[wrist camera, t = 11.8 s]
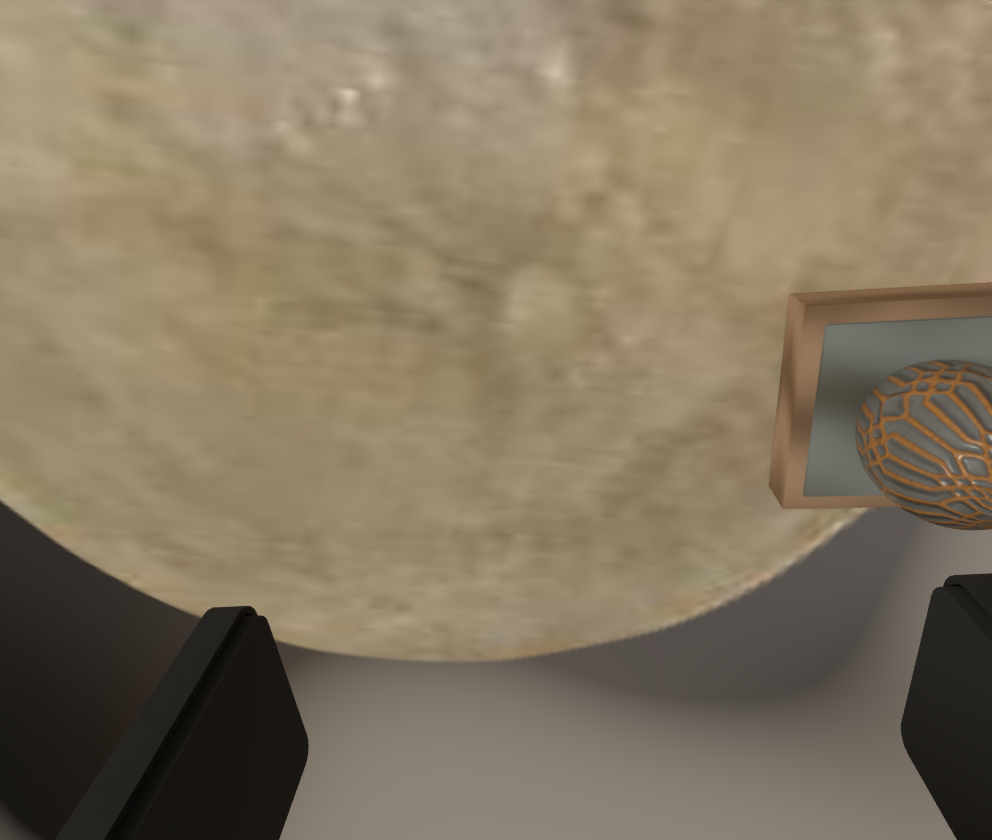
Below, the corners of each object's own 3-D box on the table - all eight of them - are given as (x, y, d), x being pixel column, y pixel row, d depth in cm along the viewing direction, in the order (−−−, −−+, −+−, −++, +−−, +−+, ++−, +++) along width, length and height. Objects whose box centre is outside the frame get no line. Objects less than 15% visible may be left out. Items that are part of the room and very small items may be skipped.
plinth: (789, 293, 32) (809, 307, 29) (1027, 280, 31) (1070, 293, 28) (768, 485, 36) (785, 512, 34) (976, 480, 35) (1009, 507, 33)
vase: (905, 315, 29) (1036, 383, 21) (1020, 386, 30) (1189, 477, 22) (803, 432, 32) (887, 531, 24) (913, 494, 33) (1028, 610, 25)
